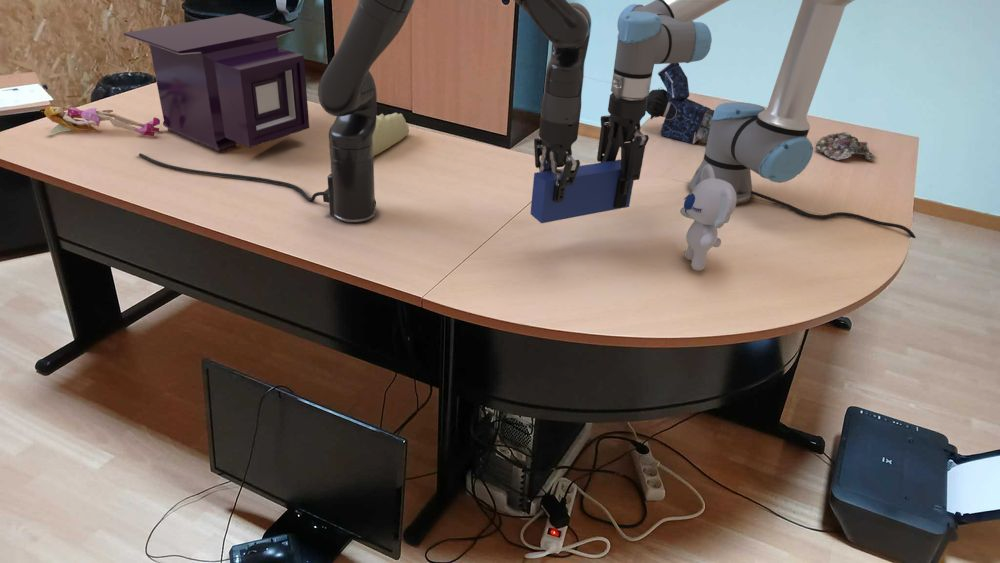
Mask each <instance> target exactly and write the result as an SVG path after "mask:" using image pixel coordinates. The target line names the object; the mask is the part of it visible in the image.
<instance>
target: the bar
mask: <svg viewBox="0 0 1000 563" xmlns="http://www.w3.org/2000/svg"><path fill="white" fill-rule="evenodd" d="M562 174H563V173H562ZM562 174H560V175H559V176H560V179H561V177H562ZM620 177H621V159H616V160H614V161H608V162H595V163H590V164H589V163H588V164H582V165H580V166H579V169H578V172H577V175H576V178H575V180H574V183H573V185H569V186H566V187H565V195H564V200H563V201H562V202H557V203H555V202H554V201H553V192H554V185H555V179H554V174H553V173H552V170H550V171H543V172H539V171H536V172H534V174H533V182H532V192H531V203H530V212H529V213H530V215H531V216H532V217H533V218H534V219H535V220H537V221H538V222H539V223H540V224H546V223H551V222H556V221H563V220H567V219H573V218H577V217H583V216H588V215H593V214H594V215H595V214H600V213H604V212H609V211H615V210H619V209H625V208H629V207H630V204H631V197H632V192H633V186H634V181H635V180H633V181H631V186H630V192H629V194H628V196H627V202H626V206H625V207H620V208H614V207H613V206H614V200H615V193H616V187H617V181H618V178H620ZM568 179H569V178H568Z"/></svg>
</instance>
